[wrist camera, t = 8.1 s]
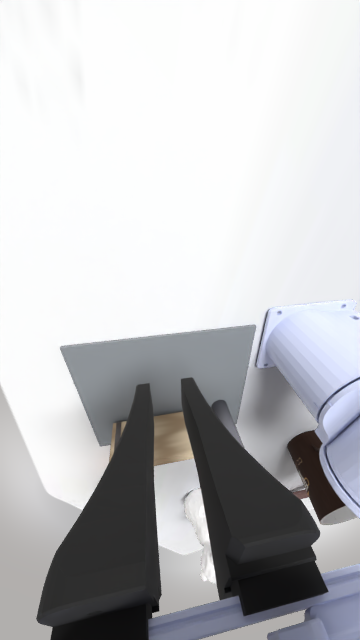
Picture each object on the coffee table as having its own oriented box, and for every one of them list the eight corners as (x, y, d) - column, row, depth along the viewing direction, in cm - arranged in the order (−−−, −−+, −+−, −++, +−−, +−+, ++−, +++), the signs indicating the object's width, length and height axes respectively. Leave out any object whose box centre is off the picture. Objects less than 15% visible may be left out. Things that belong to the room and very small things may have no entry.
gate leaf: (210, 406, 28) (223, 446, 24) (210, 412, 29) (222, 453, 24) (113, 423, 26) (108, 468, 22) (115, 429, 27) (111, 474, 23)
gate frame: (254, 324, 23) (295, 375, 17) (235, 421, 32) (257, 476, 26) (60, 346, 21) (29, 414, 15) (100, 444, 30) (91, 510, 24)
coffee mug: (316, 451, 42) (360, 518, 34) (274, 456, 40) (310, 529, 32) (345, 412, 36) (408, 484, 27) (298, 417, 34) (349, 494, 26)
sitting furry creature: (215, 500, 48) (236, 586, 38) (177, 504, 45) (188, 596, 35) (230, 479, 43) (258, 570, 33) (188, 482, 41) (204, 581, 31)
